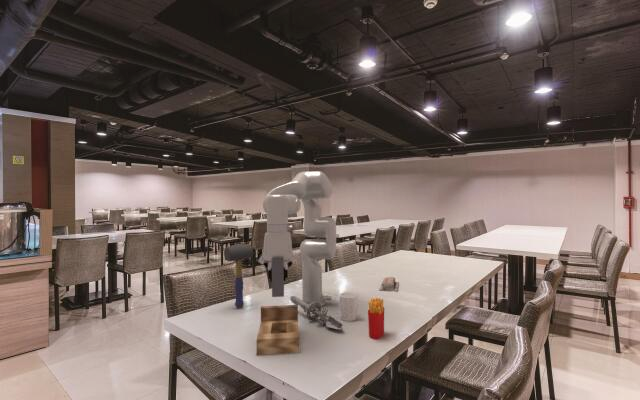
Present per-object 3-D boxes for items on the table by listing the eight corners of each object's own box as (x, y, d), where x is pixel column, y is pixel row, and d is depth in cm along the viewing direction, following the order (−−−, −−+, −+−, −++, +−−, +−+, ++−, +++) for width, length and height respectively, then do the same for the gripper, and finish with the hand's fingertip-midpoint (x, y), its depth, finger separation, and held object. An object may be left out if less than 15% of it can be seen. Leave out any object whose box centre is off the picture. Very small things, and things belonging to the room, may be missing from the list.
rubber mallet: (230, 312, 143) (230, 246, 143) (223, 308, 148) (222, 245, 149) (254, 306, 151) (254, 244, 151) (247, 302, 157) (246, 242, 157)
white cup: (346, 323, 128) (345, 298, 129) (336, 317, 135) (335, 293, 136) (361, 319, 132) (361, 295, 132) (351, 314, 139) (351, 291, 139)
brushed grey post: (284, 290, 116) (283, 255, 116) (283, 296, 108) (283, 258, 108) (273, 290, 116) (272, 255, 116) (272, 297, 108) (271, 259, 108)
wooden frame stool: (298, 330, 122) (297, 304, 122) (299, 352, 104) (299, 322, 104) (261, 332, 120) (261, 306, 120) (256, 355, 102) (256, 324, 102)
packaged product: (397, 283, 172) (379, 282, 175) (397, 292, 172) (379, 291, 175) (398, 276, 190) (382, 275, 192) (398, 284, 190) (382, 283, 192)
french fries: (376, 340, 112) (376, 304, 112) (365, 338, 114) (365, 302, 114) (387, 332, 119) (386, 297, 119) (376, 329, 122) (376, 295, 122)
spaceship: (299, 290, 149) (286, 287, 144) (352, 318, 122) (338, 315, 117) (293, 307, 147) (280, 304, 142) (345, 339, 120) (331, 337, 116)
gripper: (300, 227, 117) (301, 277, 117) (255, 228, 115) (255, 278, 115) (301, 229, 110) (302, 282, 109) (252, 230, 108) (253, 283, 108)
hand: (278, 279), depth 112 cm, fingers closed on brushed grey post, 4 cm apart
